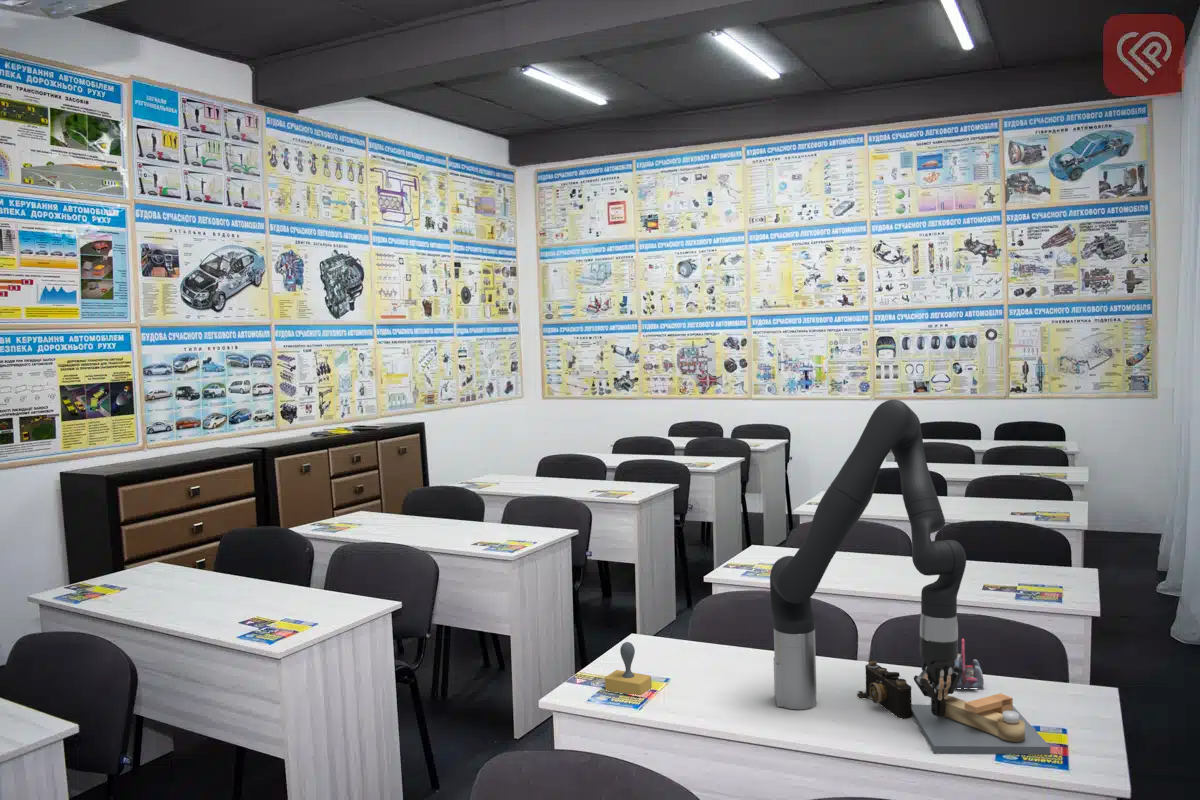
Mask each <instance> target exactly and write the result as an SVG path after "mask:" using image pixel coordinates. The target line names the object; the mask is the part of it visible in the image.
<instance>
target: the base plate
mask: <svg viewBox="0 0 1200 800" xmlns="http://www.w3.org/2000/svg"><path fill="white" fill-rule="evenodd" d="M912 719H913V721H914V722H915V724H916V725H917V727H918V729H919V730H920V732H921V733H922V735H923V737H924V738H925V740H926V742H927V744H928V745H929V747H930V750H932V752H933V754H940V755H941V754H943V755H944V754H947V755H950V754H953V755H954V754H959V755H961V754H965V755H969V754H970V755H1051V746H1050V745H1049V744H1048V743H1047V741H1046V739H1044V738H1043V737H1042V736H1041V735H1040V734H1039V733H1038V732H1037V730H1035V728H1034V727H1033V726H1032V725H1031V724H1030V723H1029V721H1028V720H1027V719H1026V718H1025V717H1024V716H1023V715H1022V713H1020V712H1019V711H1018V709H1017V708H1016V707H1015V706H1014V705H1013V711H1003V721H1005V722H1007V723H1018V722H1019V719H1020V720H1022V721H1024V723H1025V739H1024V740H1023V741H1020V742H1011V741H1006V740H1003V739H1001V738H999V737H998V736H996V735H993V734H990V733H988V732H985V731H983V730H980V729H977V728H975V727H972V726H969V725H967V724H964V723H961V722H959V721H956V720H954V719H951V718H948V717H946V716H942V717H937V716H935V715H933V714H932V712H931V704H912Z"/></svg>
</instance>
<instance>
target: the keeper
mask: <svg viewBox="0 0 1200 800" xmlns="http://www.w3.org/2000/svg"><path fill="white" fill-rule="evenodd" d="M1013 700H1014V699H1013V697H1012V696H1009V695H1007V694H1005V693H1001V692H1000V693H997V694H992V695H989V696H986V697H985V696H984V697H981V698H978V699H974V700H971V701H966V702H965V709H967V710H970V711H972V712H974V713H980V712H984V711H987V710H992V711H995V712H998V713H1000V714H1003V711H1013V706H1014V704H1013V703H1014V702H1013Z"/></svg>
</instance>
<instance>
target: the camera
mask: <svg viewBox="0 0 1200 800" xmlns="http://www.w3.org/2000/svg"><path fill="white" fill-rule="evenodd" d="M864 669H865V692H864V691H862V690H859V691H858V693H857V698H858V697H859V698H858V699H860V698H867V699H868V700H871V701H872V702H873V703H874V704H878V703H879V704H878V705H880V706H881V705H882V708H884V709H885V708H886V711H888V710H889V711H890V713H891V714H892V713H893V714H894V717H896V716H897V717H896V718H898V719H900V718H902V719H901V720H910V719H913V717H912V705H913V704H912V686H911V685H910V684H908V683H907V679H905V678H899V677H900V672H897V671H888V669H887V668H886V667H882V666H881V665H879V664H878V662H877V661H876V660H875V659H871V660H868V664H865V668H864ZM869 696H870V697H871V698H870V697H869ZM867 699H866V700H867ZM889 711H888V712H889ZM893 714H892V715H893Z"/></svg>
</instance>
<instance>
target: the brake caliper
mask: <svg viewBox="0 0 1200 800" xmlns="http://www.w3.org/2000/svg"><path fill="white" fill-rule="evenodd" d="M960 641H961V644H960V645H961V648H960V653H958V657H957V659H956V660H955V665H956V666H957V667H959V668H962V669H963V673H962V675H961V677H960V679H959V681H958V683H957V685H956V688H961V689H964V688H980V689H981V688H983V686H984V675H983V671H982V669H981V665H980V663H979V661H978V660H977V659H973V660H972V665H966V641H965V638H961V640H960ZM950 685H951V683H950ZM964 690H965V689H964Z"/></svg>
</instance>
